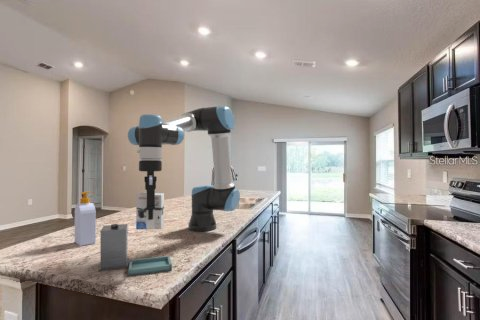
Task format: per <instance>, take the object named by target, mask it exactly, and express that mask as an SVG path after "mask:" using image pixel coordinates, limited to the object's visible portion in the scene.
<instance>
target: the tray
mask: <svg viewBox="0 0 480 320" xmlns="http://www.w3.org/2000/svg"><path fill="white" fill-rule="evenodd" d="M172 270H173V265H172V259H171V256H170V255H162V256H154V257H146V258H138V259H137V258H136V259H129V263H128V277H131V276H139V275H146V274H147V275H148V274H154V273H162V272H170V271H172Z"/></svg>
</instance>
